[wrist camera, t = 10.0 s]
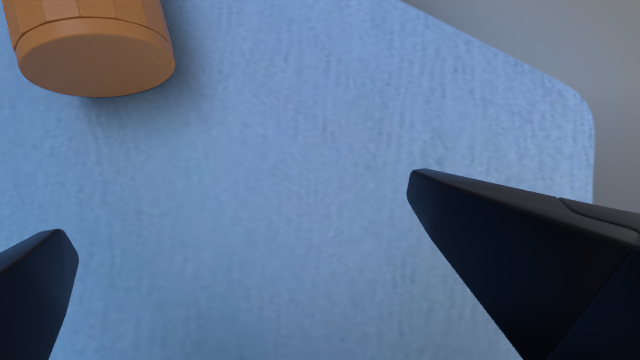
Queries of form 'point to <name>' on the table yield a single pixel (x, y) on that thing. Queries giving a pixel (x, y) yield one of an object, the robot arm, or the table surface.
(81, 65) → the jar
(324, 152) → the table surface
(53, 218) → the table surface
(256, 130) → the table surface
